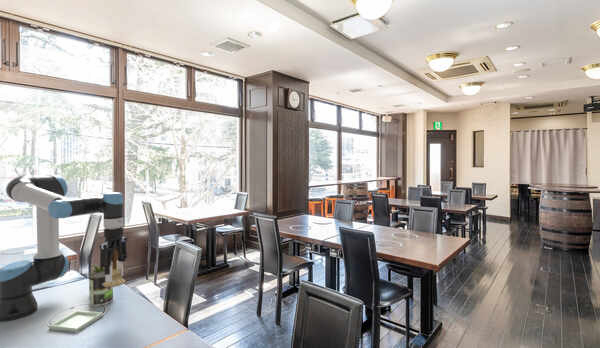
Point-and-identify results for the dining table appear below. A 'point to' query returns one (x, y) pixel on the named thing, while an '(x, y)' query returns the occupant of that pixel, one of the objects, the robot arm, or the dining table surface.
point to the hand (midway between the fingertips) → (114, 278)
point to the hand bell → (115, 273)
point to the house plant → (96, 270)
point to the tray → (76, 321)
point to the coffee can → (99, 290)
